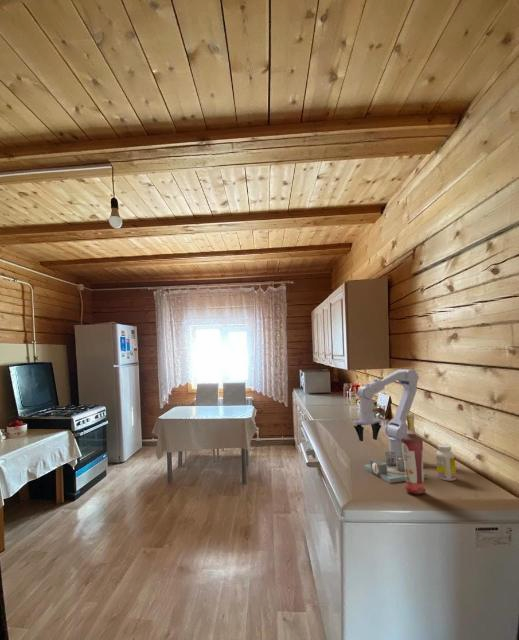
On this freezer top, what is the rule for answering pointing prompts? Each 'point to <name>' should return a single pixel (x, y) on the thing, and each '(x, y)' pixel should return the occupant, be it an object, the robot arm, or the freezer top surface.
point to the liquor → (413, 459)
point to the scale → (387, 471)
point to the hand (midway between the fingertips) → (368, 440)
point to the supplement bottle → (445, 463)
